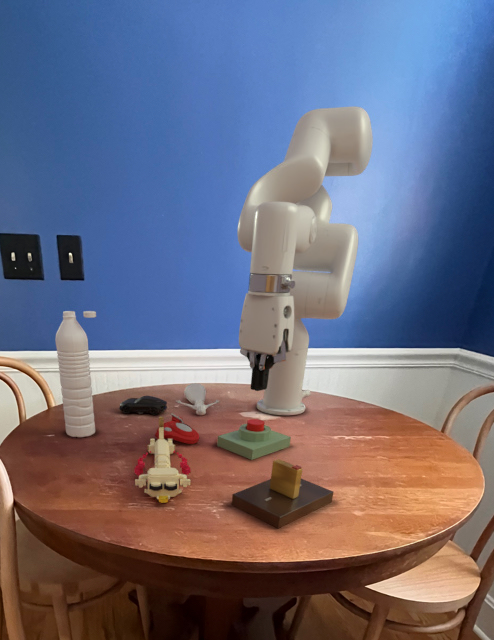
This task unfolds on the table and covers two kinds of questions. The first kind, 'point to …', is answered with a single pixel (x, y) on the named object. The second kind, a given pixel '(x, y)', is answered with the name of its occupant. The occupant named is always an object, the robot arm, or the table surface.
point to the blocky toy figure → (162, 469)
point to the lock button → (255, 425)
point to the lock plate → (281, 502)
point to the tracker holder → (179, 431)
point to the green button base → (253, 442)
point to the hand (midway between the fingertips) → (258, 389)
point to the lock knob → (286, 478)
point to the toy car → (143, 405)
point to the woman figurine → (196, 398)
